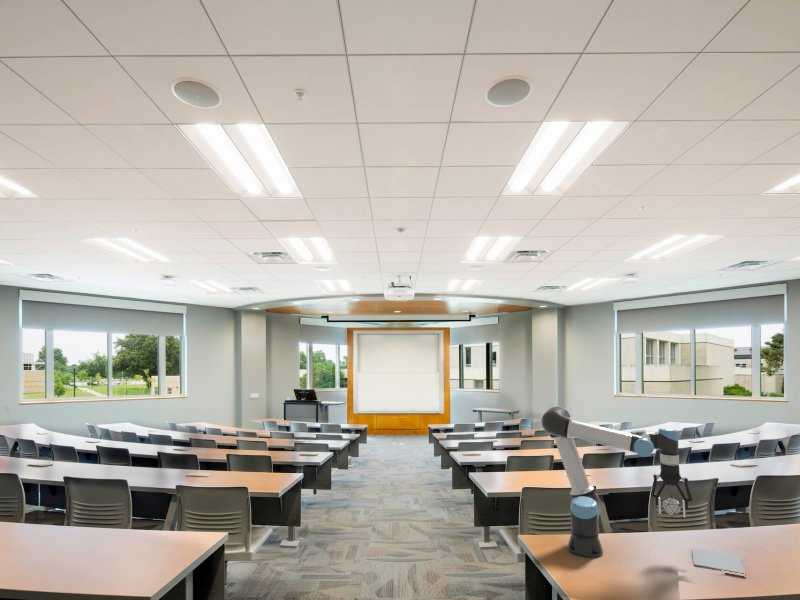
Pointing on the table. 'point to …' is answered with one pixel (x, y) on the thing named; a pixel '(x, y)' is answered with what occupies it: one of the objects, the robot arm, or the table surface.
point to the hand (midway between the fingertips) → (672, 514)
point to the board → (717, 560)
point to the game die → (671, 506)
